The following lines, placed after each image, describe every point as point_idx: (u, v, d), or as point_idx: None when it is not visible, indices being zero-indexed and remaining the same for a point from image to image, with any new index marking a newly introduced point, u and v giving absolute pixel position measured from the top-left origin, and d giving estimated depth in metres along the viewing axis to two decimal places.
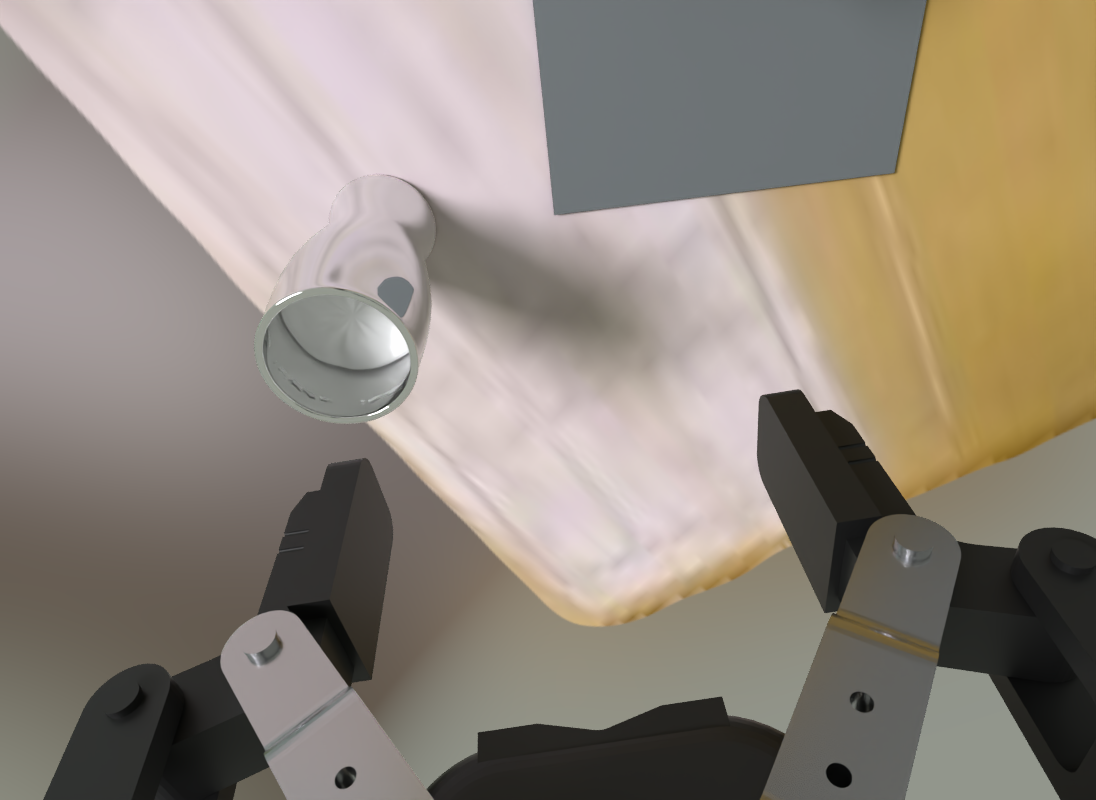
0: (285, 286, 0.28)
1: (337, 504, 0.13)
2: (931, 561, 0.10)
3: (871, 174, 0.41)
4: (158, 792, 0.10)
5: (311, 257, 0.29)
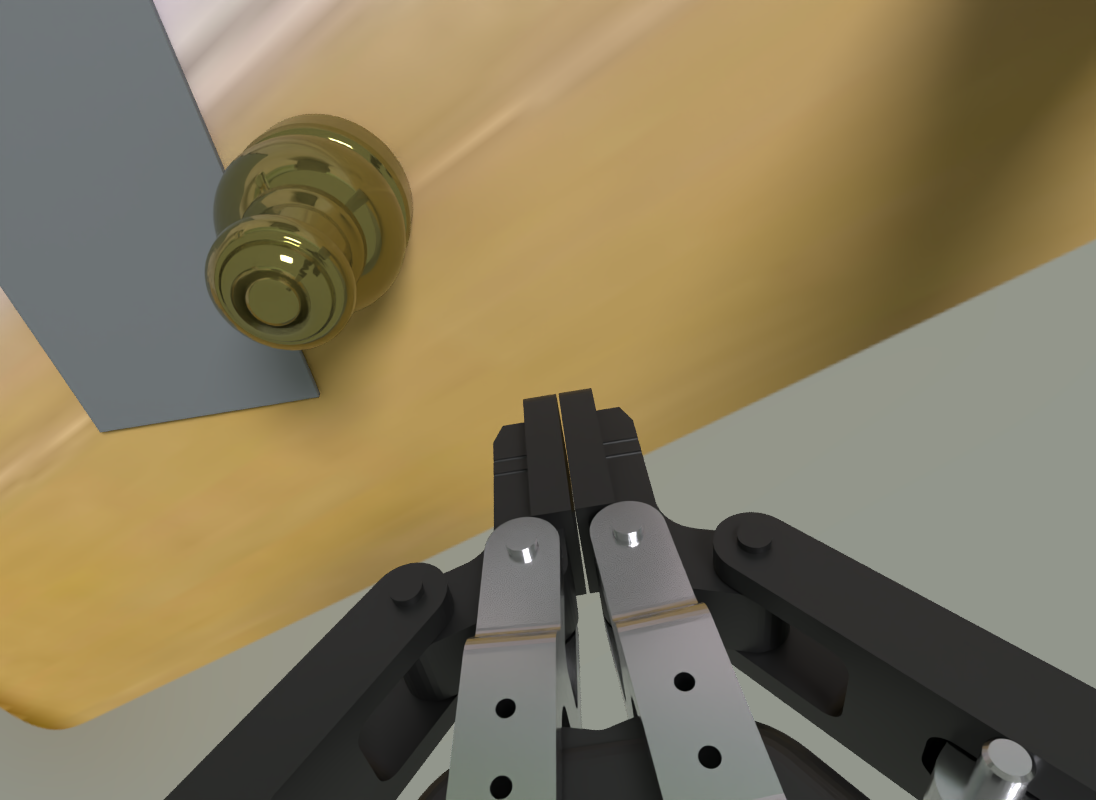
0: None
1: (546, 432, 0.13)
2: (637, 542, 0.11)
3: (87, 412, 0.36)
4: (405, 677, 0.11)
5: None
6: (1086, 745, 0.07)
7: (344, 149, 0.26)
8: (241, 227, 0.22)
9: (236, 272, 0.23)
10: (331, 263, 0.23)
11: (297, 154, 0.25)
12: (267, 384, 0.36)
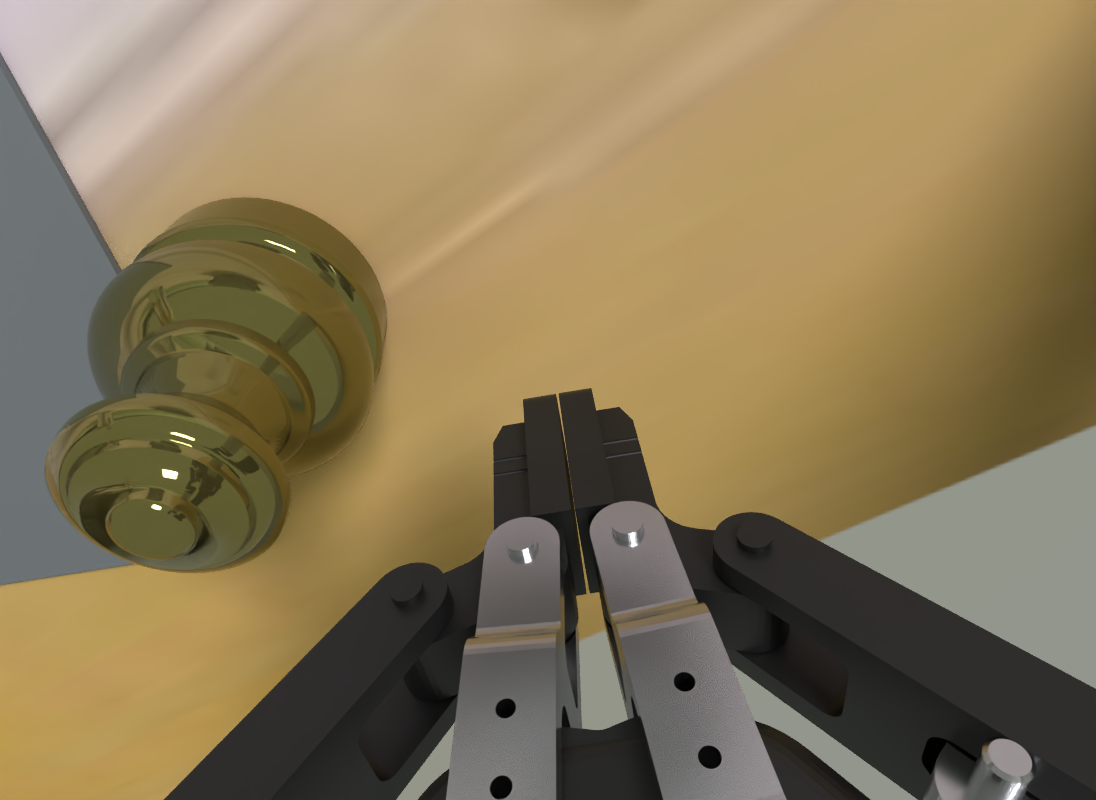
0: None
1: (546, 432, 0.13)
2: (637, 542, 0.11)
3: None
4: (405, 677, 0.11)
5: None
6: (1086, 745, 0.07)
7: (278, 263, 0.17)
8: (95, 418, 0.14)
9: (90, 486, 0.14)
10: (245, 466, 0.15)
11: (204, 275, 0.17)
12: None
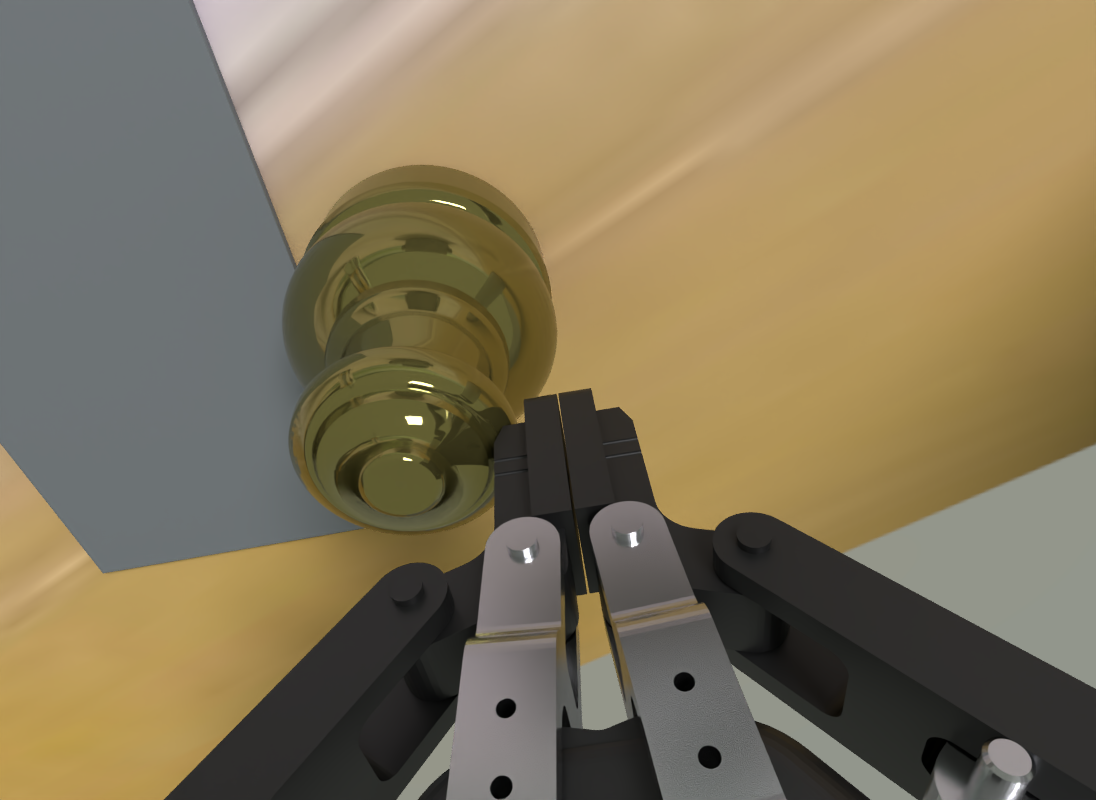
0: None
1: (547, 432, 0.13)
2: (636, 542, 0.11)
3: (86, 550, 0.27)
4: (405, 677, 0.11)
5: None
6: (1086, 745, 0.07)
7: (483, 224, 0.17)
8: (354, 370, 0.14)
9: (343, 440, 0.14)
10: (493, 419, 0.14)
11: (417, 235, 0.17)
12: (328, 510, 0.27)
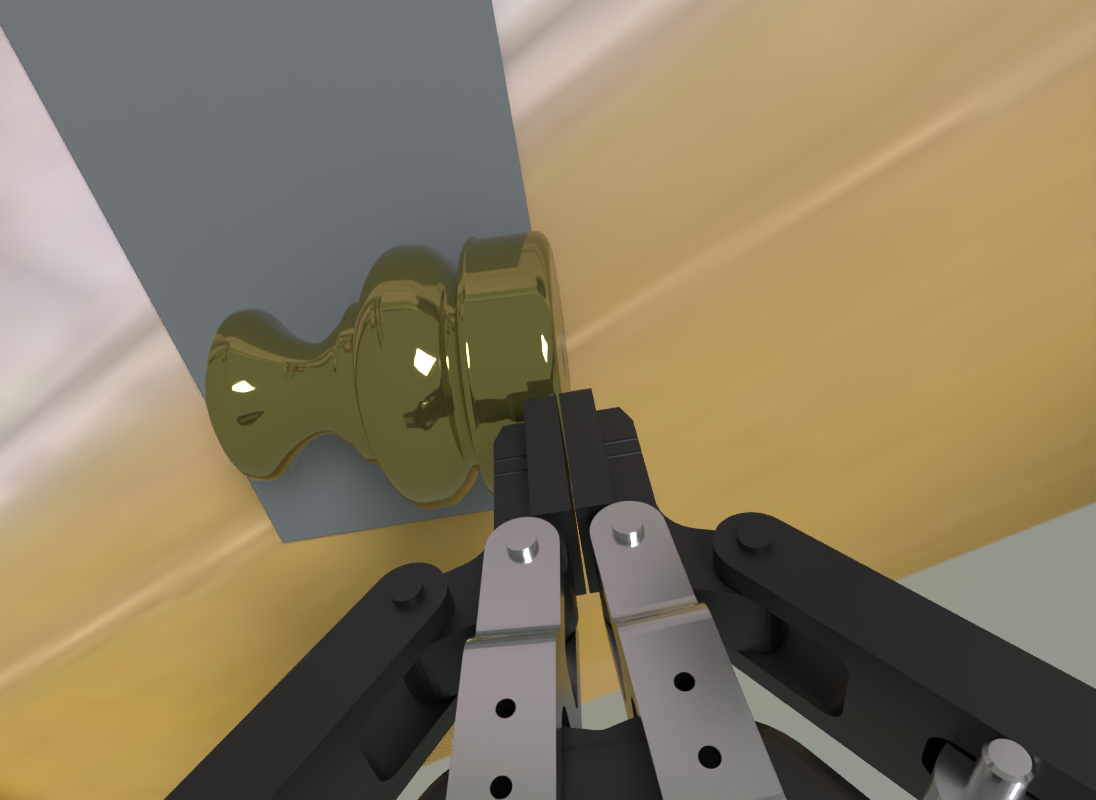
0: None
1: (546, 431, 0.13)
2: (637, 542, 0.11)
3: (271, 519, 0.27)
4: (405, 677, 0.11)
5: None
6: (1086, 745, 0.07)
7: (383, 369, 0.16)
8: None
9: None
10: (219, 440, 0.18)
11: (358, 317, 0.17)
12: None
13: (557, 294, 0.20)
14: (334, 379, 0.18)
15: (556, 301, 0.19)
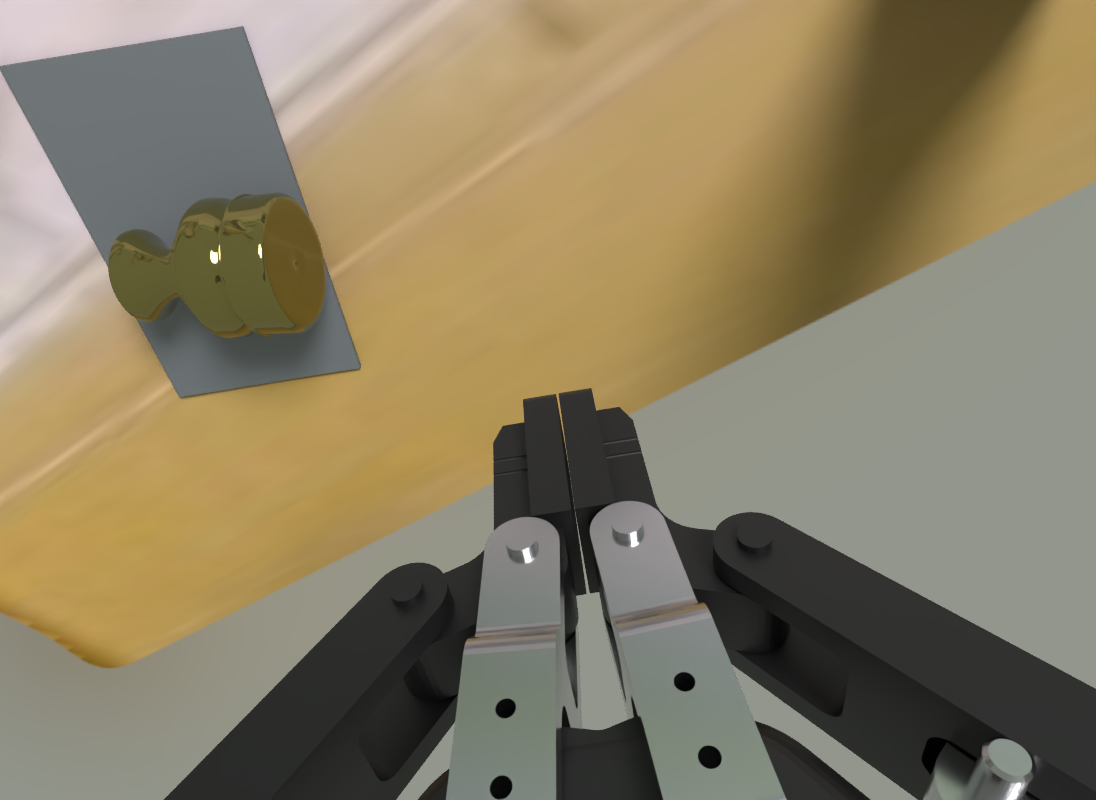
0: None
1: (546, 432, 0.13)
2: (637, 542, 0.11)
3: (171, 380, 0.45)
4: (405, 677, 0.11)
5: None
6: (1086, 745, 0.07)
7: (181, 243, 0.33)
8: None
9: None
10: None
11: None
12: (319, 357, 0.45)
13: (302, 231, 0.37)
14: None
15: (290, 229, 0.36)
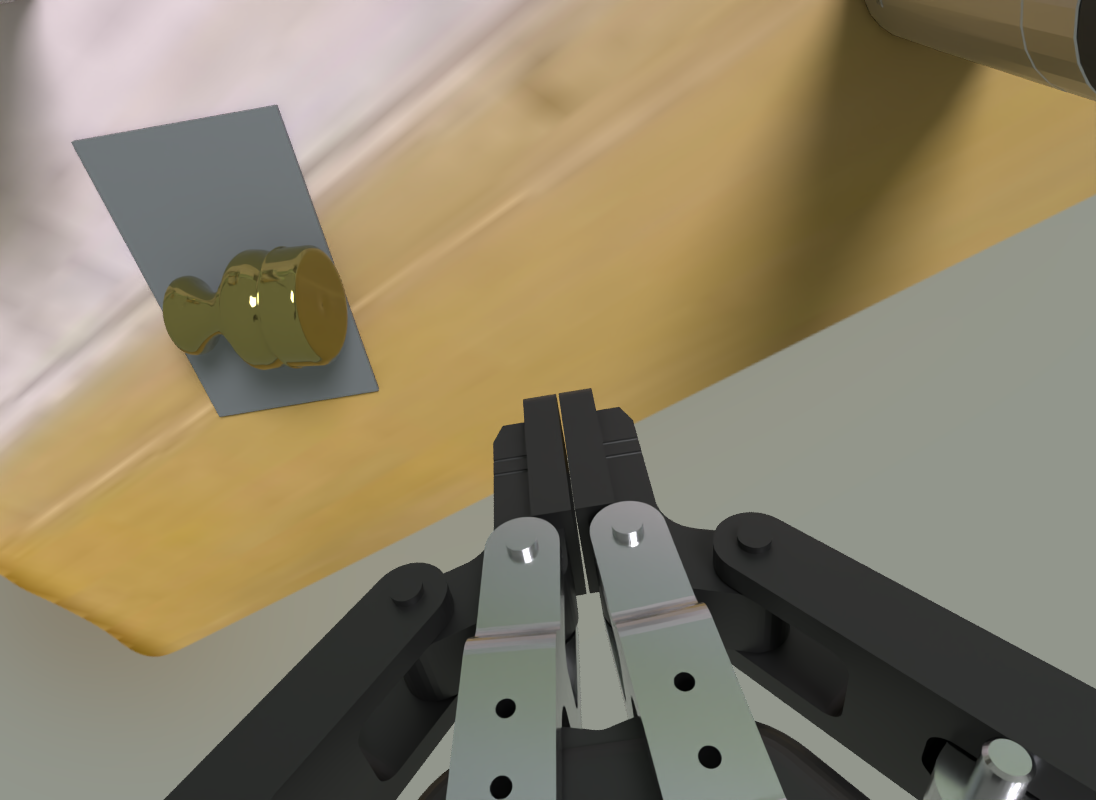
0: None
1: (546, 432, 0.13)
2: (637, 542, 0.11)
3: (212, 402, 0.51)
4: (405, 677, 0.11)
5: None
6: (1086, 745, 0.07)
7: (226, 292, 0.39)
8: None
9: None
10: (166, 327, 0.42)
11: None
12: (342, 381, 0.50)
13: (327, 276, 0.43)
14: None
15: (317, 276, 0.42)
